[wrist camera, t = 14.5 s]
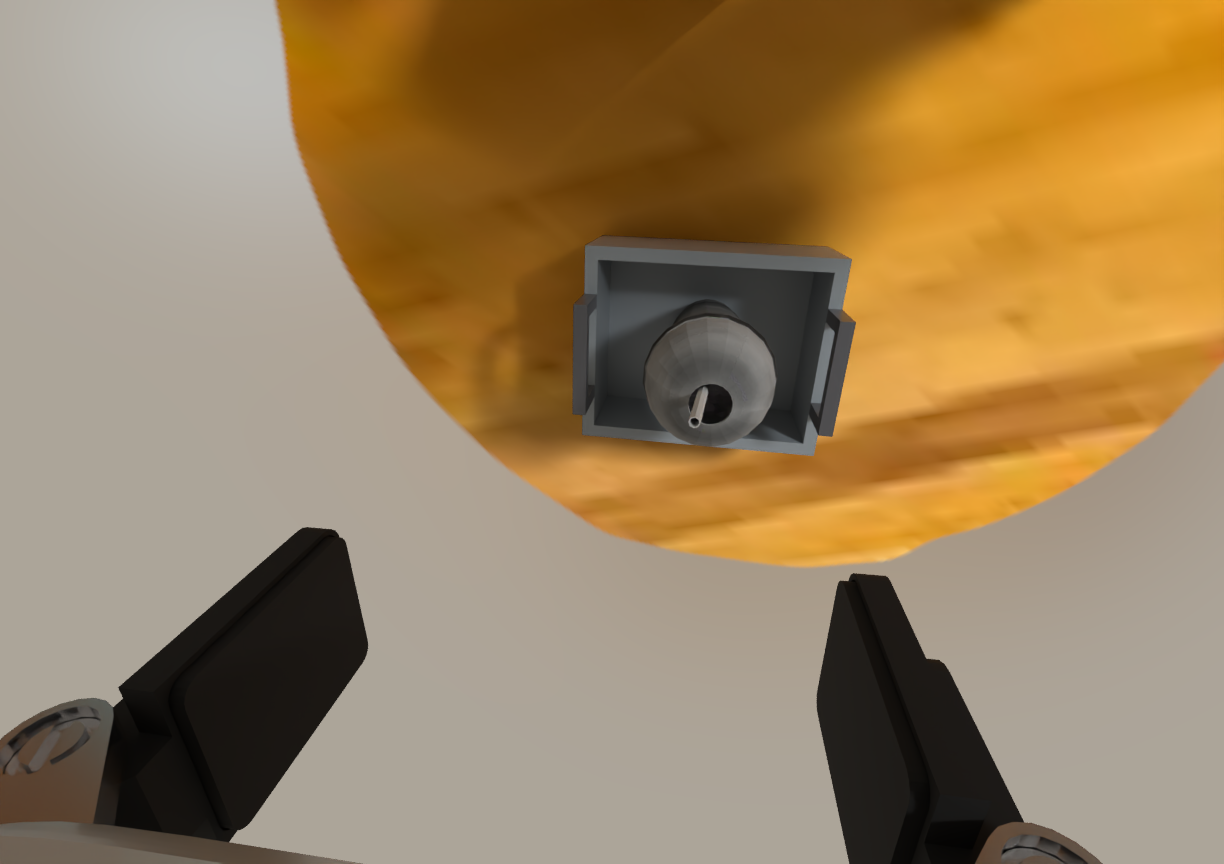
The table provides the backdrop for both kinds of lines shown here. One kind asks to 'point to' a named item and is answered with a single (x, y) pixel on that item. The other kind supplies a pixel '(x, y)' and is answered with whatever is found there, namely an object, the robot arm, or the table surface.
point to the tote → (752, 288)
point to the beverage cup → (710, 376)
